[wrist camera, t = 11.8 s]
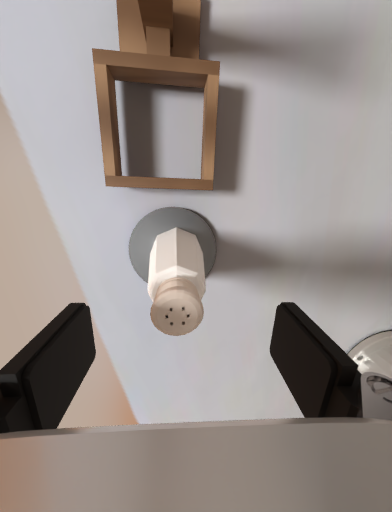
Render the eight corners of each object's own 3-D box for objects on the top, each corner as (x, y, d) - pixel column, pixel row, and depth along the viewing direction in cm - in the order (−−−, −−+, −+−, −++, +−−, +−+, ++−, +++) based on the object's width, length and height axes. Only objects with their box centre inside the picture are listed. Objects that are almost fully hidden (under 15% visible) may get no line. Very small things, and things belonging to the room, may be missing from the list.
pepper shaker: (203, 226, 20) (232, 266, 10) (202, 276, 22) (225, 354, 11) (148, 227, 20) (117, 268, 9) (151, 277, 21) (128, 361, 11)
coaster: (212, 288, 23) (213, 290, 22) (132, 289, 22) (131, 291, 22) (218, 208, 20) (219, 208, 20) (126, 205, 19) (125, 206, 19)
